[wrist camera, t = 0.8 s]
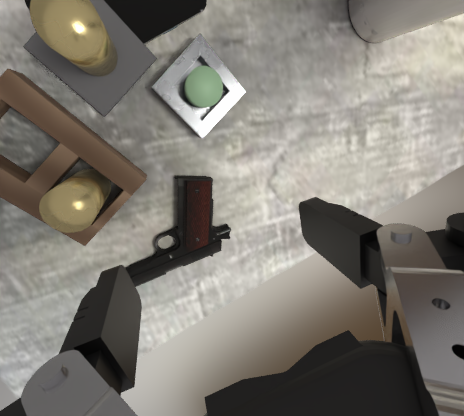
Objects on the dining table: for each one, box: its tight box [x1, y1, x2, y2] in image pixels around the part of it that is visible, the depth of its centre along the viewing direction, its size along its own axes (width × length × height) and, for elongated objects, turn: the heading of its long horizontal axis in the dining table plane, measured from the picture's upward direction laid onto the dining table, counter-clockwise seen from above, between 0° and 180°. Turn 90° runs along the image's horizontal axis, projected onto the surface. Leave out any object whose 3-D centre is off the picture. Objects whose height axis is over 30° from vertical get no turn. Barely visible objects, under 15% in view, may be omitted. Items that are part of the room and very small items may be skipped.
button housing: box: [152, 34, 246, 138], centre depth 26 cm, size 7×7×2 cm
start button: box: [184, 66, 223, 108], centre depth 24 cm, size 4×4×2 cm
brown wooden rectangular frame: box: [0, 69, 147, 246], centre depth 24 cm, size 10×14×2 cm
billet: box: [30, 0, 118, 76], centre depth 19 cm, size 4×4×8 cm
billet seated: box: [39, 169, 111, 233], centre depth 23 cm, size 4×4×8 cm
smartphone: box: [25, 0, 207, 44], centre depth 23 cm, size 7×1×15 cm
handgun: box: [126, 176, 231, 287], centre depth 31 cm, size 2×17×12 cm
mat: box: [23, 0, 157, 116], centre depth 23 cm, size 8×8×1 cm
